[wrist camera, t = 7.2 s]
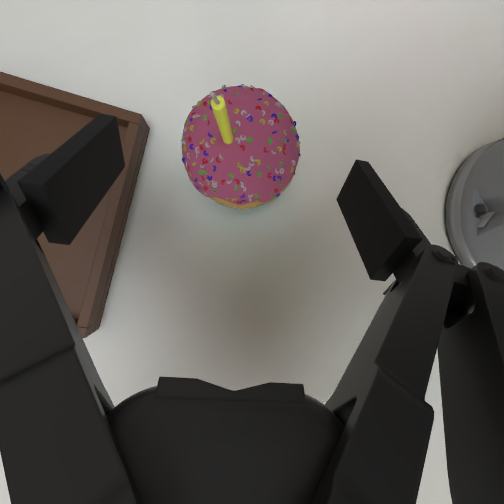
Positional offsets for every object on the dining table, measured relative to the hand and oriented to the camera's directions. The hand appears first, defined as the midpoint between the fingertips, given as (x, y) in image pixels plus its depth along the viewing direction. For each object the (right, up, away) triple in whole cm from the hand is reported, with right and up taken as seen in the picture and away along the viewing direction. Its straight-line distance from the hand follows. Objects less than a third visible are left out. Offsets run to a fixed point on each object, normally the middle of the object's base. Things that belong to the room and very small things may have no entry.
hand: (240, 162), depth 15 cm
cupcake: (-1, +2, +8) cm, 9 cm away
